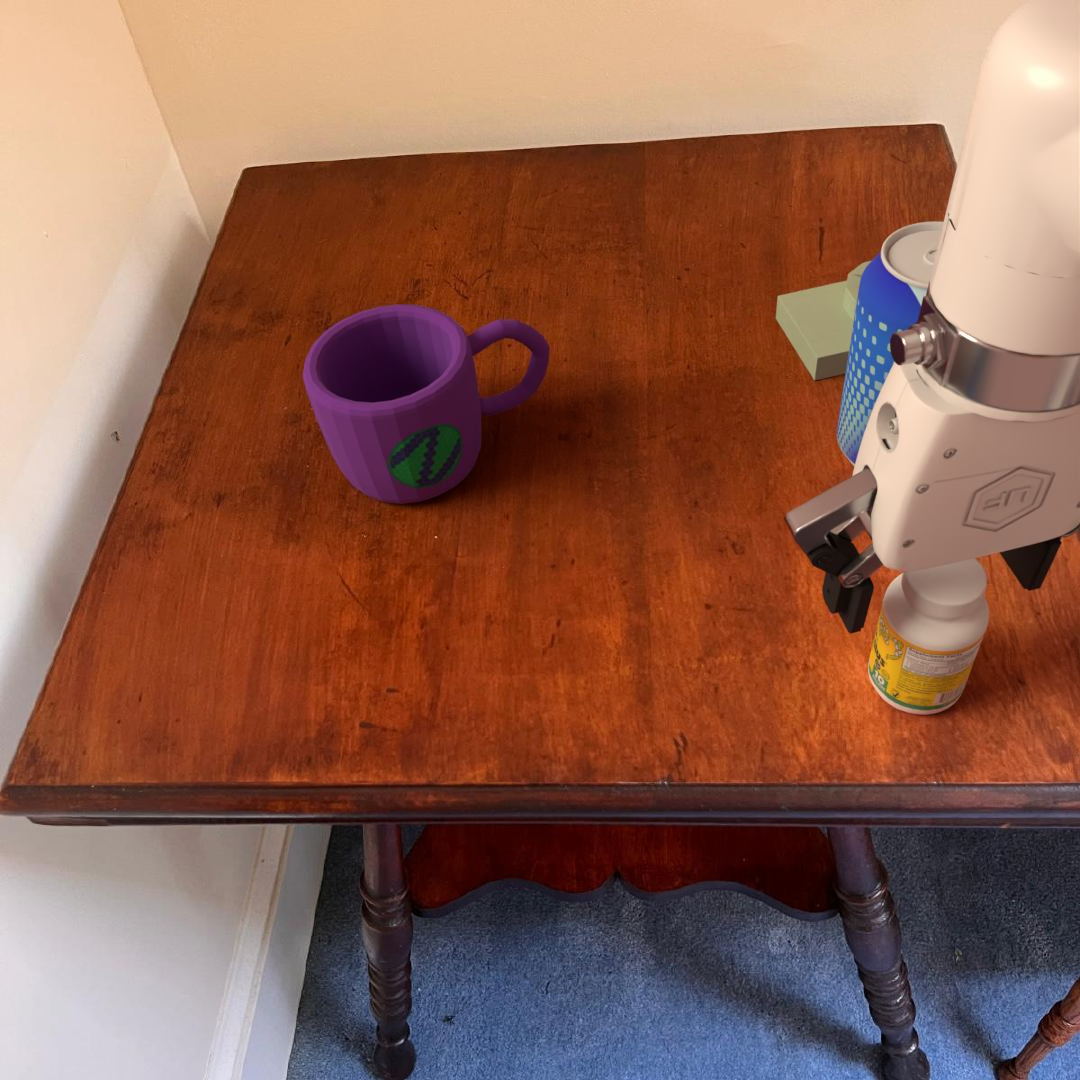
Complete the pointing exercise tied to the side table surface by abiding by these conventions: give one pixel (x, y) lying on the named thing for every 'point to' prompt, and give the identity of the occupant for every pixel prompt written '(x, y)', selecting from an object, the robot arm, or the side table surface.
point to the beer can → (883, 322)
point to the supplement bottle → (929, 636)
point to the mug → (409, 397)
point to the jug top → (821, 323)
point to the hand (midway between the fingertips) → (931, 590)
